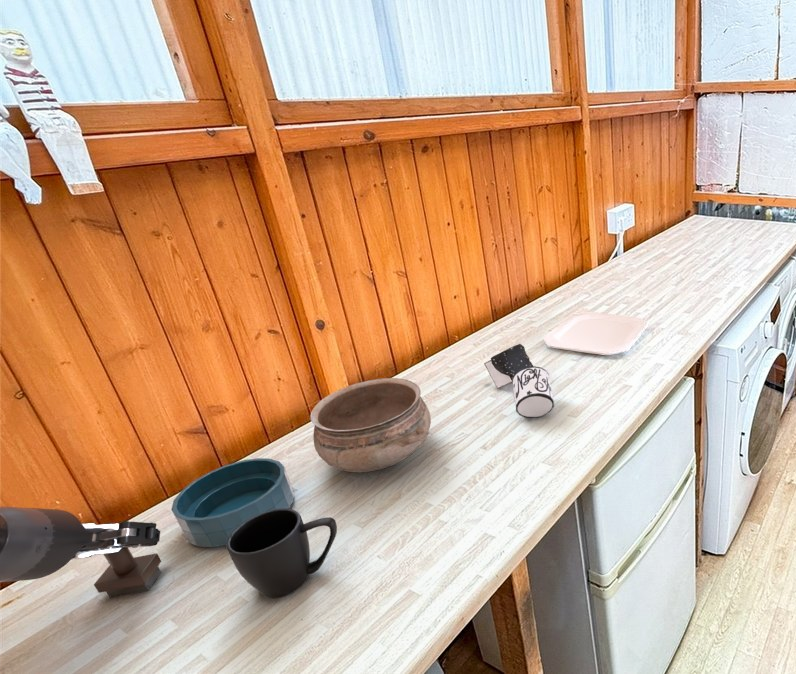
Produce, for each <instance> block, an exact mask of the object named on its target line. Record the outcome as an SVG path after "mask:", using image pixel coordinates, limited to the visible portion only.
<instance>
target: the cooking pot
mask: <svg viewBox="0 0 796 674" xmlns="http://www.w3.org/2000/svg"><path fill="white" fill-rule="evenodd" d="M421 393H422V392H421V389H420V386H418V384H417V383H415V382H413V381H412V380H409V379H405V378H398V377H397V378H396V377H382V378H374V379H368V380H364V381H359V382H356V383H353V384H350V385H347V386H344V387H342V388H339V389H338V390H337V389H336V390H335V391H333V392H331V393H330V394H328V395H326V396H325V397H324V398H322V399H321V400H319V401H318V402H317V404H316V405H314V407H313V409H312V410H311V413H310V421H311V423H312V424H313V425H314V427H313V446H314V449H315V451H316V453H317V455H318V457H320V459H321V460H322V461H324V462H325V463H326V464H328V465H329V466H331V467H332V468H335V469H337V470H340V471H345V472H348V473H349V472H350V473H368V472H373V471H379V470H383V469H386V468H389V467H392V466H394V465H396V464H398V463H400V462H402V461H404V460H405V459H407V458H408V457H410V456H411V455H412V454H414V453H415V452H416V451H417V450H418V449H419V448H420V447H421V446H422V444H424V442H425V440H426V438H427V437H428V436H429V435H430V428H431V425H432V424H431V423H432V420H431V413H430V410H429V407H428V405H427V403H426V402H425V401H424V399H423V398H422V397H421Z"/></svg>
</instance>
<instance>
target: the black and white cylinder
mask: <svg viewBox="0 0 796 674" xmlns="http://www.w3.org/2000/svg"><path fill="white" fill-rule="evenodd" d="M483 364H484V366H485V368H486V370H487V372H488V374H489V376H490V377H491V379H492V381H493V383H494V384H495V387H496V389H501V388H503V387H505V386H508V385H510V384H512V388H513V397H514V404H515V405H514V406H515V411H516V414H517V415H519V416H520V417H522V418H526V419H537V418H538V419H539V418H542V417H544V416H546V415H547V414H549V413H551V412H552V410H553V408H554V406H555V405H554V404H555V402H554V396H553V391H552V386H551V379H550V374H549V373H548V370H546V369H544V368H543V367H540V366H534V364H533V363H532V361H531V360H530V356H529V355H528V354H527V352H526V347H525V346H524V345H523V344H521V343H518V344H515V345H513V346H510V347H509V348H507V349H505V350H503V351H501V352H498V353H497V354H495V355H492V357H490V360H487V361H486V362H484V363H483Z"/></svg>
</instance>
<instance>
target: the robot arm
mask: <svg viewBox="0 0 796 674" xmlns="http://www.w3.org/2000/svg"><path fill="white" fill-rule="evenodd" d="M104 524H105V523H104ZM106 530H108V531H107V532H106ZM160 537H161V530H159V528H157V523H156V522H141V521H129V520H125V521H122V522H119V523H114V524H105V525H102V524H95V522H94V523H93V522H89V523H87V522H86V523H82V522H81V520H80V519H79V518H78V517H77V516H76V515H74V514H73V513H72V512H69V511H67V510H64V509H57V508H56V509H55V508H53V509H52V508H40V507H39V508H38V507H20V506H0V583H9V582H20V581H33V580H38V579H42V578H46V577H47V576H50V575H52V574H54V573H56V572H58V571H59V570H61V569H62V568H63V567H65V566H66V565H67V564H68V563H69V562H71V560H81V559H88V558H92V557H93V556H98V555H99V556H100V555H104V554H110V553H114V552H117V551H119V550H120V549H121V548H128V549H129V548H131V549H136V548H138V547H139V548H140V547H141V548H142V547H145V548H147V547H153V546H157V545H158V543H159V542H160V539H161V538H160ZM105 540H108V546H107V548H106V549H100V548H101V547H102V546H103V544H104V543H105Z"/></svg>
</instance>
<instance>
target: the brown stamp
mask: <svg viewBox="0 0 796 674" xmlns="http://www.w3.org/2000/svg"><path fill="white" fill-rule="evenodd" d="M105 524H115V523H114V522H105V523H102V524H101V525H105ZM107 531H108V530H106V532H107ZM107 546H108V540H105V543H104V544H103V546H102V547H101V548H99V549H106V548H107ZM103 555H104V558H105V559H106V561H107V563H108V564H109V565H108V567H106V569H105V570H104V571H103V572H102V574H101V575H100V576H99V578H98V579H97V580H96V581H95V582H94V584H93V586H94V588H95V589H96V591H97V592H98V594H101V593H106V595H107V596H108V598H109V599H114V598H118V597H124V596H128V595H134V594H138V593H143V592H148V591H150V589H152V586H153V585H154V584H155V582H156V581H157V579H158V578H159V576H160V575H161V573H162V571H161V568H160V567H159V566H160V564H161V563H162V560H161V558H160V556H159V553H151V554H146V555H140V556H135V557H134V555H133V554H132V551H131V550H130V549H129V548H121V549H120V550H119V551H117V552H114V553H110V554H103Z"/></svg>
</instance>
